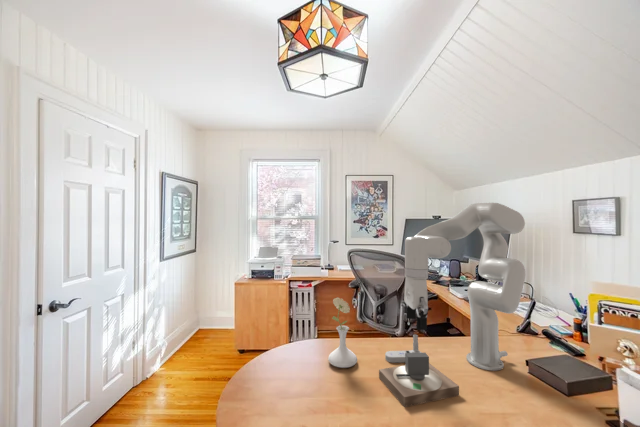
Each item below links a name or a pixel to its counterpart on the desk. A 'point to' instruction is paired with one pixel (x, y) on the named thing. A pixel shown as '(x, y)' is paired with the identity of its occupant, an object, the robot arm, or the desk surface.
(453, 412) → the desk surface
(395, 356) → the electronic device
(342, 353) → the flower in vase
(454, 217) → the robot arm
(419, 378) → the dark grey boxy piece
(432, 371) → the board
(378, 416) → the desk surface
